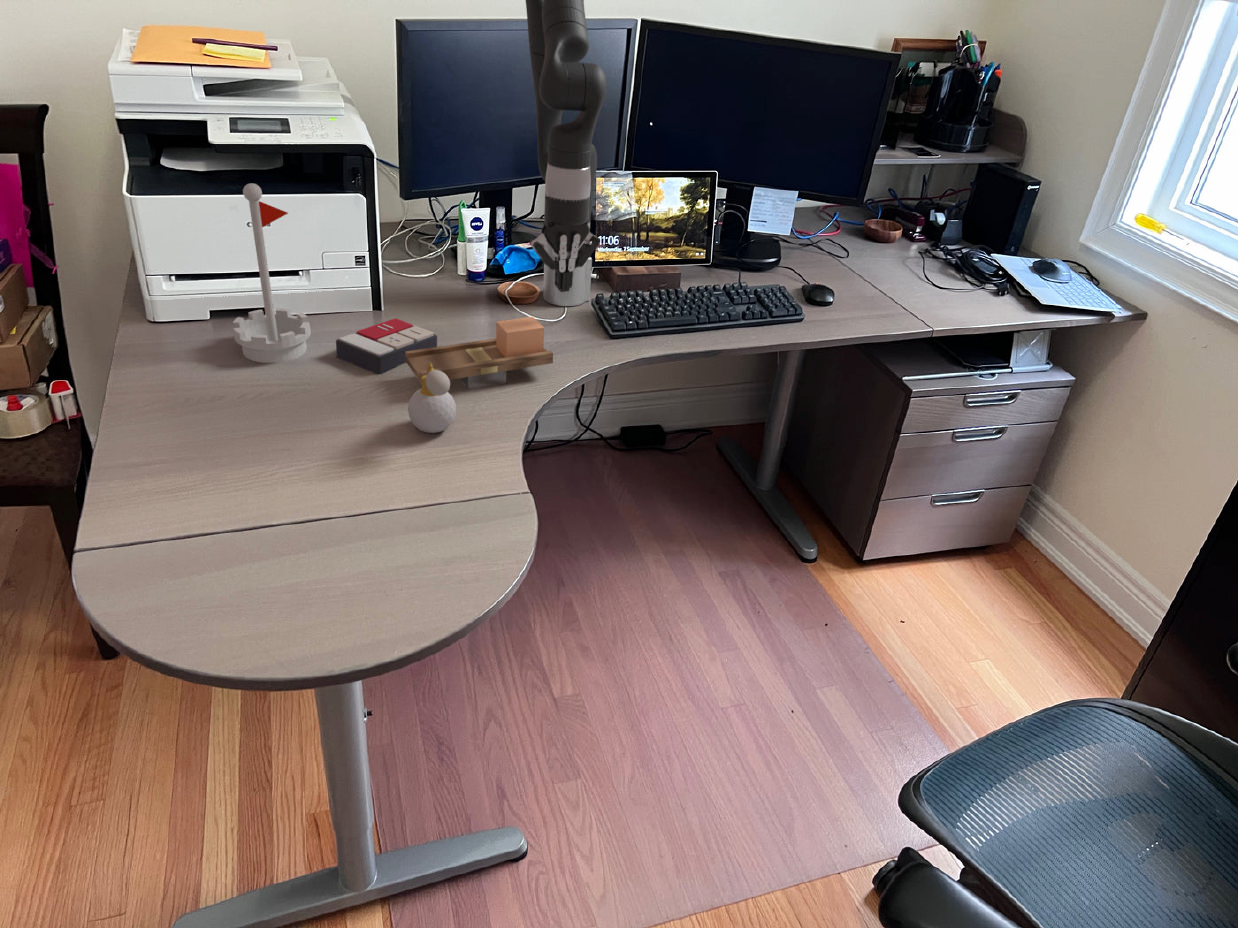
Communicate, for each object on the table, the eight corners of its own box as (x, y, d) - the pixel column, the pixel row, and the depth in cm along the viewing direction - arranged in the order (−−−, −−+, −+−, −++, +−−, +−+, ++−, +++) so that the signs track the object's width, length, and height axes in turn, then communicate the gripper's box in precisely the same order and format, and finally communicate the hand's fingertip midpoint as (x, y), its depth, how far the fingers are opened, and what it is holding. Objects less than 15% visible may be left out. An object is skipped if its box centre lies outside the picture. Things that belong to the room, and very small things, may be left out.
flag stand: (237, 368, 157) (208, 196, 141) (235, 338, 167) (207, 174, 152) (316, 361, 162) (296, 193, 146) (309, 332, 172) (289, 172, 156)
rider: (532, 342, 165) (532, 316, 163) (543, 353, 162) (544, 327, 159) (496, 347, 162) (496, 321, 160) (506, 359, 159) (506, 332, 156)
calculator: (438, 331, 168) (378, 353, 157) (438, 352, 171) (379, 376, 159) (395, 315, 173) (334, 336, 162) (395, 336, 175) (335, 358, 164)
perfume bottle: (436, 412, 149) (434, 346, 143) (475, 434, 144) (474, 367, 138) (399, 427, 144) (394, 359, 138) (438, 451, 139) (435, 381, 133)
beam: (532, 357, 169) (533, 333, 167) (552, 378, 163) (553, 353, 160) (406, 377, 159) (405, 351, 156) (422, 400, 152) (421, 373, 150)
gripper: (593, 184, 156) (587, 279, 166) (522, 187, 151) (520, 286, 160) (613, 196, 151) (605, 294, 160) (540, 200, 145) (536, 301, 154)
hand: (562, 290), depth 160 cm, fingers closed
